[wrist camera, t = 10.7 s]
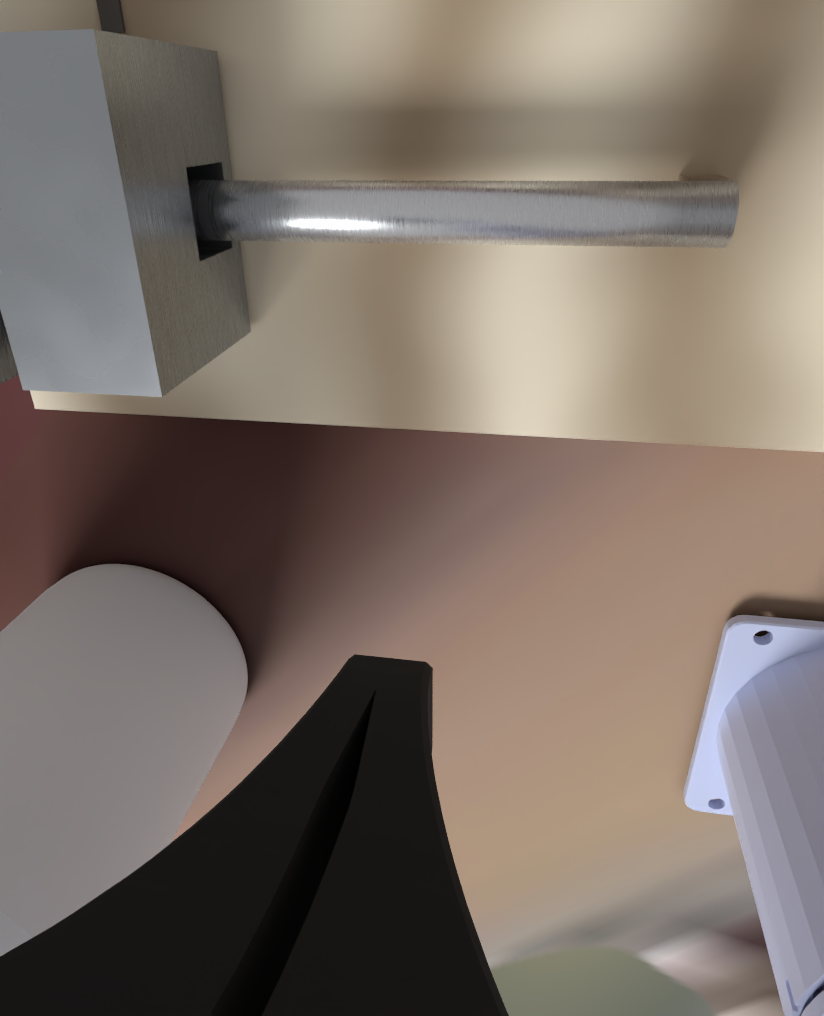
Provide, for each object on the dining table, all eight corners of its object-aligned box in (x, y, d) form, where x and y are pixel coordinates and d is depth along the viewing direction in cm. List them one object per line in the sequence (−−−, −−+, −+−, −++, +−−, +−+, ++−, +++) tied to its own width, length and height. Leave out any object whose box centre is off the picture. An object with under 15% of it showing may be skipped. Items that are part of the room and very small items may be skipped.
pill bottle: (57, 518, 24) (-536, 1005, 11) (281, 616, 24) (-32, 1201, 11) (30, 677, 28) (-428, 1174, 15) (223, 759, 28) (-59, 1313, 15)
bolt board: (1090, -137, 13) (1461, -305, 8) (895, 440, 18) (1035, 573, 13) (-67, -70, 16) (-357, -154, 11) (56, 396, 22) (-102, 487, 16)
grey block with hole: (217, 50, 15) (93, 29, 11) (251, 331, 18) (161, 397, 14) (87, 55, 16) (-78, 34, 12) (140, 327, 19) (23, 390, 15)
